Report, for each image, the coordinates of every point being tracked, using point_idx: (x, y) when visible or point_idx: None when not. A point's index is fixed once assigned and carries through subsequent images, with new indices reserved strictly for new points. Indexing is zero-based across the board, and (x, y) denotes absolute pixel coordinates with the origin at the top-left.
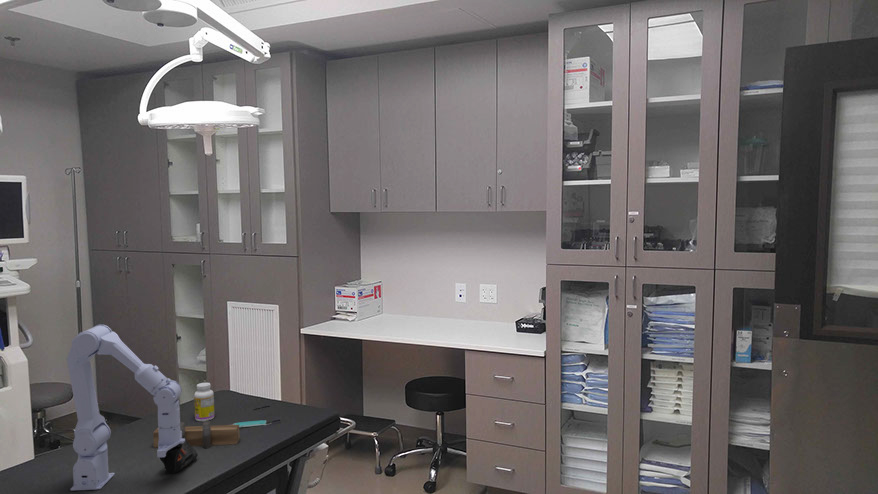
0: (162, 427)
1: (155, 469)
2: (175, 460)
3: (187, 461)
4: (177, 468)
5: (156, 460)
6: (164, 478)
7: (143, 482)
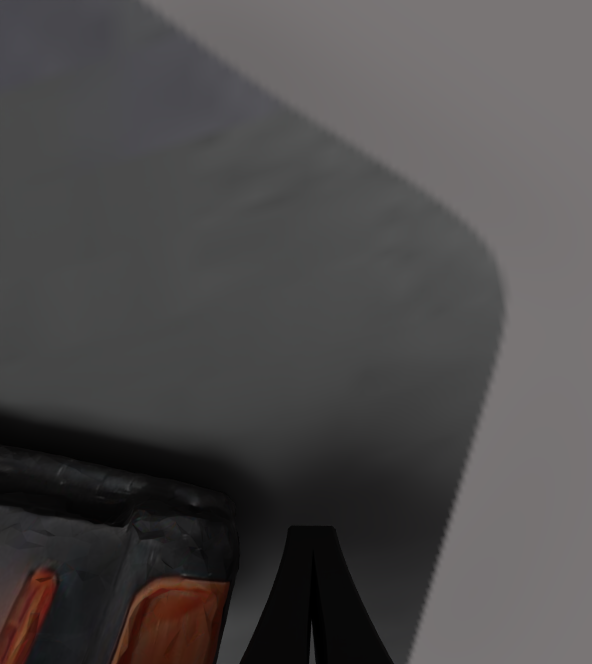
0: None
1: None
2: (374, 655)
3: (94, 479)
4: (232, 518)
5: None
6: None
7: None
